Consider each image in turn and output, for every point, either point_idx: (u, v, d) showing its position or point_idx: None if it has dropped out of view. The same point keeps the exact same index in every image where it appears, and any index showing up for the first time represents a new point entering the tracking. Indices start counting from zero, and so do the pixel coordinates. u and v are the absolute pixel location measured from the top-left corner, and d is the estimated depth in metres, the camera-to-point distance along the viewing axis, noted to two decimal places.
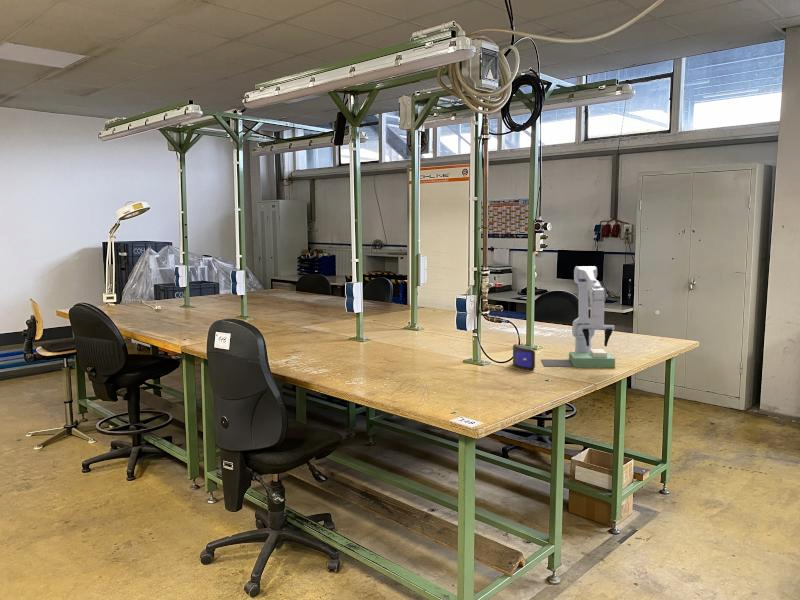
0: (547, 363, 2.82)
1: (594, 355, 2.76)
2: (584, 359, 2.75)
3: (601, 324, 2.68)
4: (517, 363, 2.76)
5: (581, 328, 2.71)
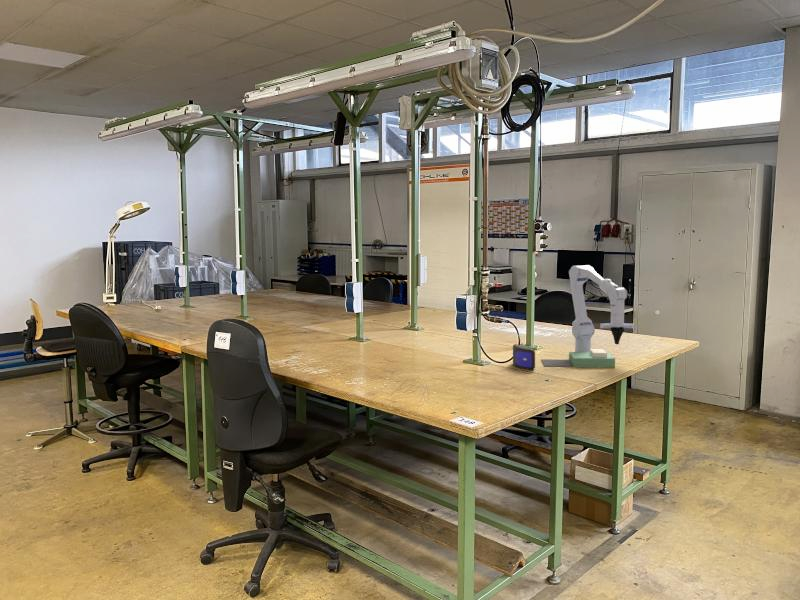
0: (547, 363, 2.82)
1: (594, 355, 2.76)
2: (584, 359, 2.75)
3: (621, 323, 2.75)
4: (517, 363, 2.76)
5: (602, 326, 2.78)
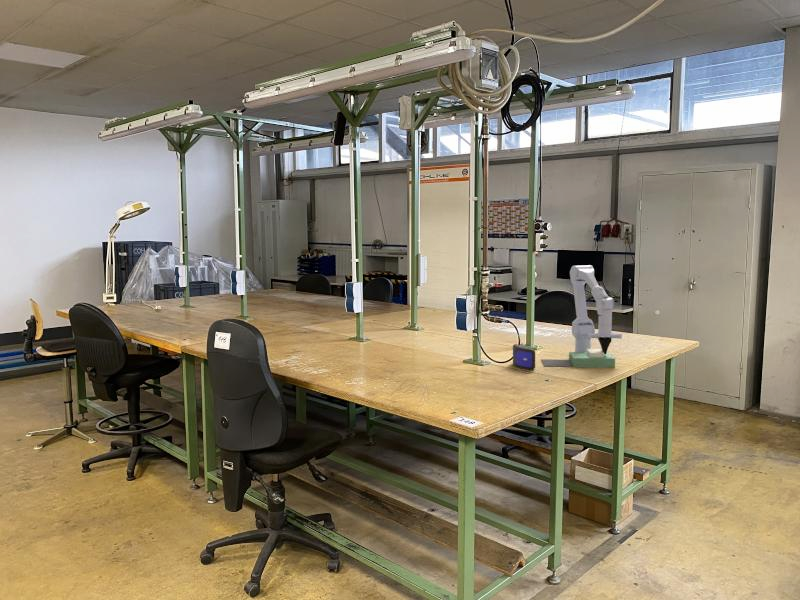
0: (547, 363, 2.82)
1: (591, 355, 2.76)
2: (584, 359, 2.75)
3: (609, 333, 2.76)
4: (517, 363, 2.76)
5: (589, 336, 2.79)
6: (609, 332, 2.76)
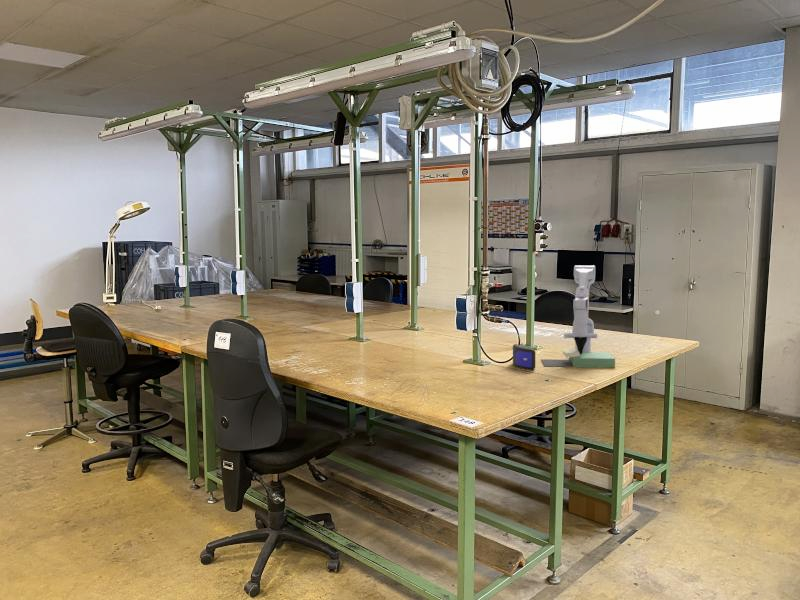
0: (547, 363, 2.82)
1: (567, 355, 2.78)
2: (584, 359, 2.75)
3: (584, 332, 2.78)
4: (517, 363, 2.76)
5: (565, 336, 2.80)
6: (584, 332, 2.78)
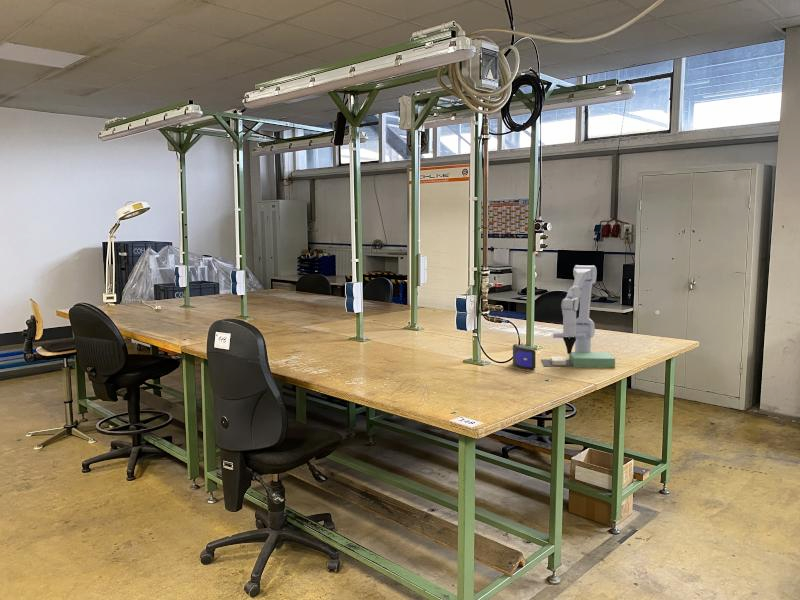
0: (547, 363, 2.82)
1: (565, 362, 2.78)
2: (584, 359, 2.75)
3: (573, 332, 2.78)
4: (517, 363, 2.76)
5: (554, 336, 2.81)
6: (573, 332, 2.78)
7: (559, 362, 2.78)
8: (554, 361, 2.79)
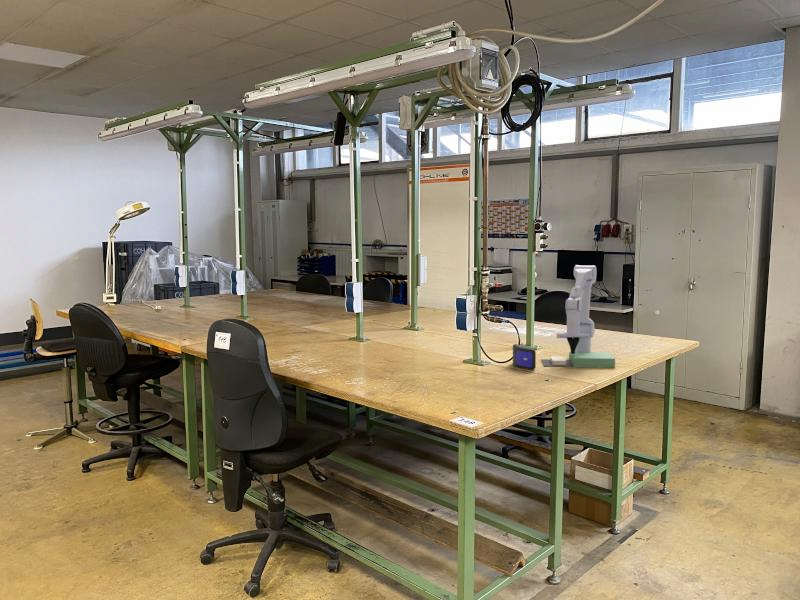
0: (547, 363, 2.82)
1: (565, 362, 2.78)
2: (584, 359, 2.75)
3: (577, 333, 2.78)
4: (517, 363, 2.76)
5: (558, 336, 2.81)
6: (577, 332, 2.78)
7: (559, 362, 2.78)
8: (554, 361, 2.79)
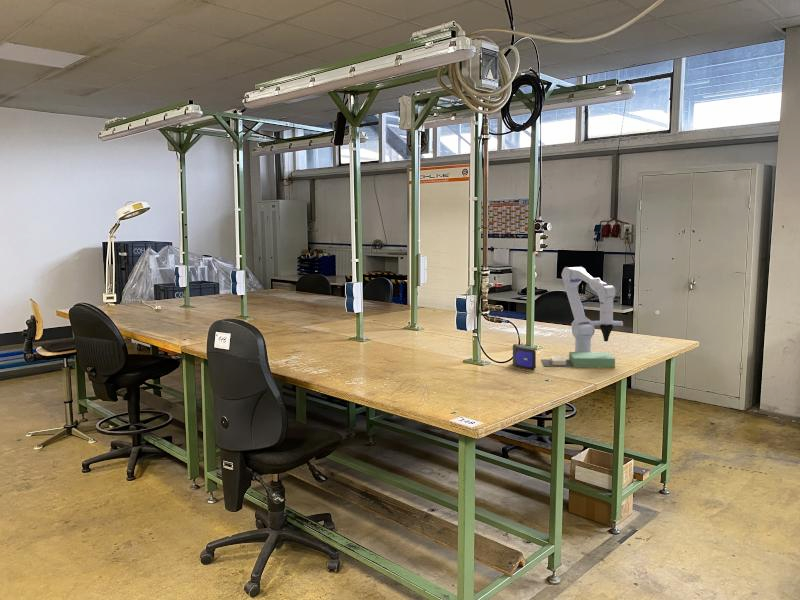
0: (547, 363, 2.82)
1: (565, 362, 2.78)
2: (584, 359, 2.75)
3: (610, 320, 2.79)
4: (517, 363, 2.76)
5: (591, 324, 2.82)
6: (610, 319, 2.79)
7: (559, 362, 2.78)
8: (554, 361, 2.79)
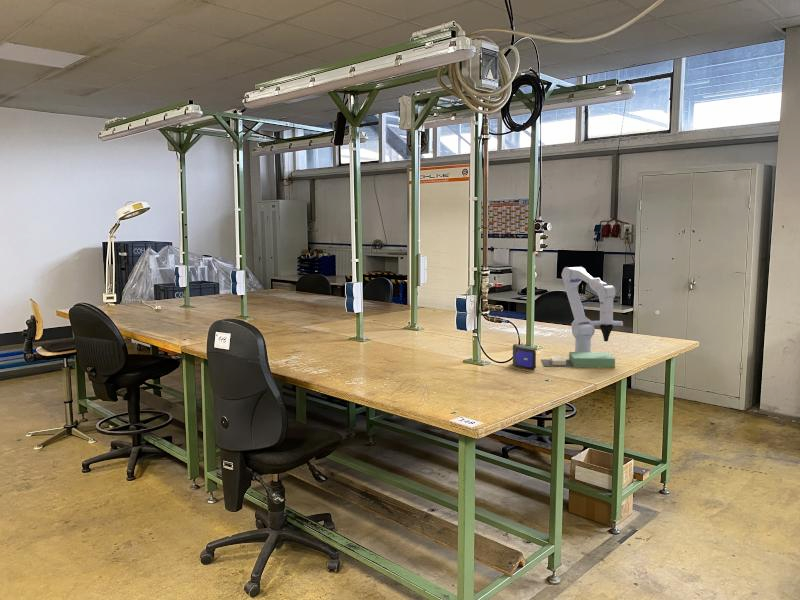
0: (547, 363, 2.82)
1: (565, 362, 2.78)
2: (584, 359, 2.75)
3: (610, 320, 2.79)
4: (518, 363, 2.76)
5: (591, 324, 2.82)
6: (610, 319, 2.79)
7: (559, 362, 2.78)
8: (554, 361, 2.79)
